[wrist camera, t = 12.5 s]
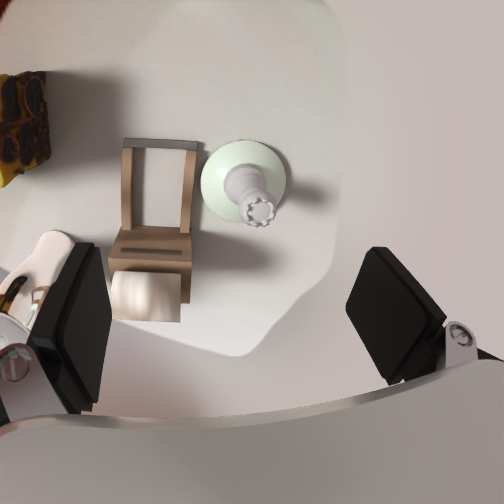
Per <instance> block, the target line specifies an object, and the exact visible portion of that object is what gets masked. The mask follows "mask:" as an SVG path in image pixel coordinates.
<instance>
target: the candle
mask: <svg viewBox="0 0 504 504" xmlns="http://www.w3.org/2000/svg"><path fill="white" fill-rule="evenodd" d="M44 85H45V72H44V71H37V72H31V71H27V72H23V73H20V74H18V75H15V76H12V75H11V76H8V75H7V74H2V75H0V189H1V188H3V187H5V186H6V185H7V184H9V183H10V182H11V181H12V180H13V179H14V178H15V177H16V176H17V175H18V174H23V173H24V171H25V170H29V169H31V168H33V167H35V166H39V165H41V164H42V163H43V162H44V160H48V159H49V158H50V155H51V150H50V142H49V136H48V135H49V129H48V120H47V108H46V105H47V103H46V102H45V101H44V99H43V94H44Z"/></svg>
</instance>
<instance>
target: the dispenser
mask: <svg viewBox="0 0 504 504" xmlns="http://www.w3.org/2000/svg"><path fill="white" fill-rule="evenodd" d="M197 144H198V141H184V140H167V139H142V138H125V139H124V142H123V148H122V165H121V215H122V226H121V228H120V231H119V233H118V235H117V238H116V240H115V242H114V245H113V247H112V249H111V252H110V254H109V257H108V264H109V272H110V280H111V308H112V314H113V317H114V319H120V320H136V321H156V322H180V303H187V304H190V287H191V270H192V242H191V228H189V227H190V215H191V203H192V192H193V182H194V172H195V163H196V154H197ZM134 147H144V148H168V149H185V150H187V152H186V162H185V172H184V183H183V195H182V208H181V223H180V228H177V227H156V226H134V225H132V184H133V156H134Z"/></svg>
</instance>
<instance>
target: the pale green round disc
mask: <svg viewBox="0 0 504 504" xmlns="http://www.w3.org/2000/svg"><path fill="white" fill-rule="evenodd" d="M245 163H249V164H252V165H256V166H257V167H258V168H260V169H261V170H262V171H263V173H264V175H265V177H266V179H267V192H269V193H270V194H272V195H273V196H274V197H275V200H276V202H277V205H278V203H279V202H280V200H281V198H282V196H283V194H284V191H285V187H286V173H285V169H284V166H283V164H282V162H281V160H280V159H279V157H278V156H277V155H276V154H275V153H274V152H273V151H272V150H271V149H270V148H268V147H267V146H265V145H263V144H261V143H259V142H256V141H251V140H237V141H232V142H229V143H227V144H224V145H222V146H221V147H219V148H218V149H217V150H215V151H214V152H213V153H212V154H211V155H210V156H209V158H208V159H207V161H206V162H205V165H204V167H203V170H202V173H201V192H202V196H203V198H204V201H205V203H206V204H207V206H208V207H209V208H210V210H211V211H212V212H213V213H215V214H216V215H217V216H219V217H221V218H222V219H225V220H227V221H231V222H237V223H245V222H244V221H242V219H241V217H240V215H239V206H238V205H235V204H234V203H233V202H231V201H230V200H229V199H228V197H227V195H226V193H225V191H224V185H223V182H224V179H225V176H226V174H227V173H228V172H229V171H230V169H231V168H233V167H235V166H237V165H239V164H245Z"/></svg>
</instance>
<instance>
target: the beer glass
mask: <svg viewBox="0 0 504 504" xmlns="http://www.w3.org/2000/svg"><path fill="white" fill-rule="evenodd" d="M74 245H75V243H74V242H73V241H72V239H71V238H70V237H69V236H67V235H66V234H64V233H62V232H60V231H54V230H53V231H48V232H46V233H44V234H43V235H42V236H41V237H40V238H39V240H38V243H37V245H36V247H35V249H34V251H33V253H32V254H31V255H30V256H29V257H28V258H27V259H26V260H24V261H23V262H22V263H21V264H20V265H18V266H17V267H16V268H15V269H14V270H13V271H12V272H11V273H10V274H9V275H8V276H7V277H6V278H5V280H4V281H3V282H2V284H1V285H0V351H1V349H3V348H4V347H6V346H7V345H10V344H13V343H23V344H26V342H27V339H28V336H29V334H30V331H31V329H32V326H33V324H34V322H35V319H36V317H37V315H38V312H39V310H40V308H41V306H42V303H43V301H44V299H45V297H46V295H47V293H48V290H49V288H50V286H51V285H52V283H54V282H56V279H57V277H58V275H59V273H60V271H61V270H62V268H63V266H64V264H65V262H66V260H67V258H68V256H69V254H70V252H71V251H72V249H73V247H74Z"/></svg>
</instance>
